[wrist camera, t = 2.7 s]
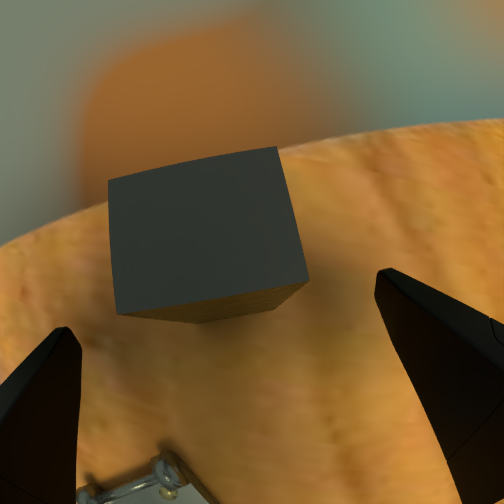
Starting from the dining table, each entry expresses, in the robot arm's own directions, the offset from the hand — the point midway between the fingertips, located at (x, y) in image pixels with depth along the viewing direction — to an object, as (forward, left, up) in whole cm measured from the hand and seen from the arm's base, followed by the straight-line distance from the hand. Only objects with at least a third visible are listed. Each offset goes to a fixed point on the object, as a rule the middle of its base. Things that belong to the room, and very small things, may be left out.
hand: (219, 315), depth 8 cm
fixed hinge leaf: (-13, +2, -10) cm, 17 cm away
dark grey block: (+2, +1, -9) cm, 10 cm away
